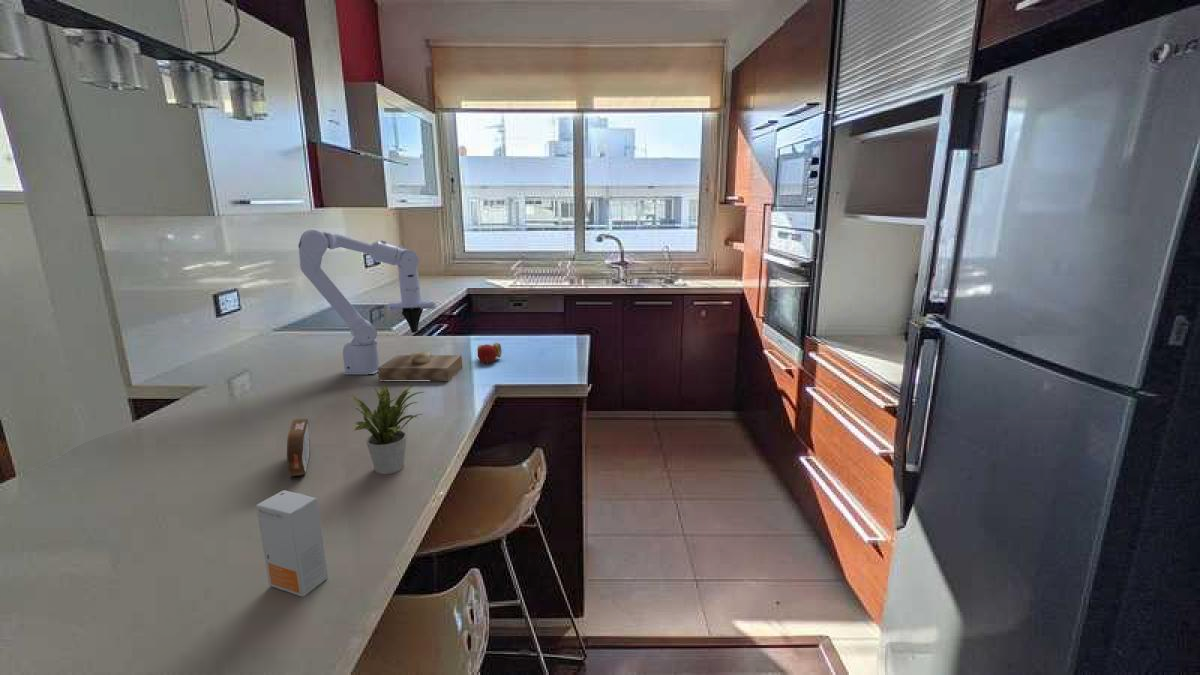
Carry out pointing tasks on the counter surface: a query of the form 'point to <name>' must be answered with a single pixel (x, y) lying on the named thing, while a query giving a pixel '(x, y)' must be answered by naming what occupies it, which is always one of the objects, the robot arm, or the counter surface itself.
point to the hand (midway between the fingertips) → (414, 331)
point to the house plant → (386, 431)
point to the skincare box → (292, 542)
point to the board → (421, 368)
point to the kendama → (489, 352)
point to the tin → (298, 447)
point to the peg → (420, 357)
